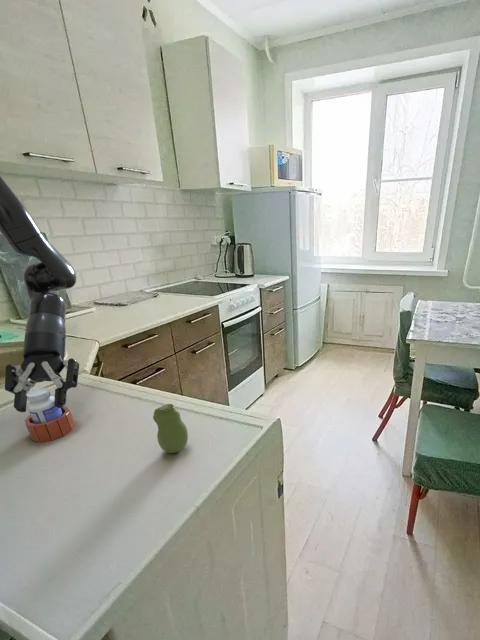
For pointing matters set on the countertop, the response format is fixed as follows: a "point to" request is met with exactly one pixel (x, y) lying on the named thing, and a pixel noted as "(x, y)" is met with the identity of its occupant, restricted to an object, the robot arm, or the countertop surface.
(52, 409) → the pill bottle
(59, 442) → the countertop surface
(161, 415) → the pear
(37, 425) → the ring holder
